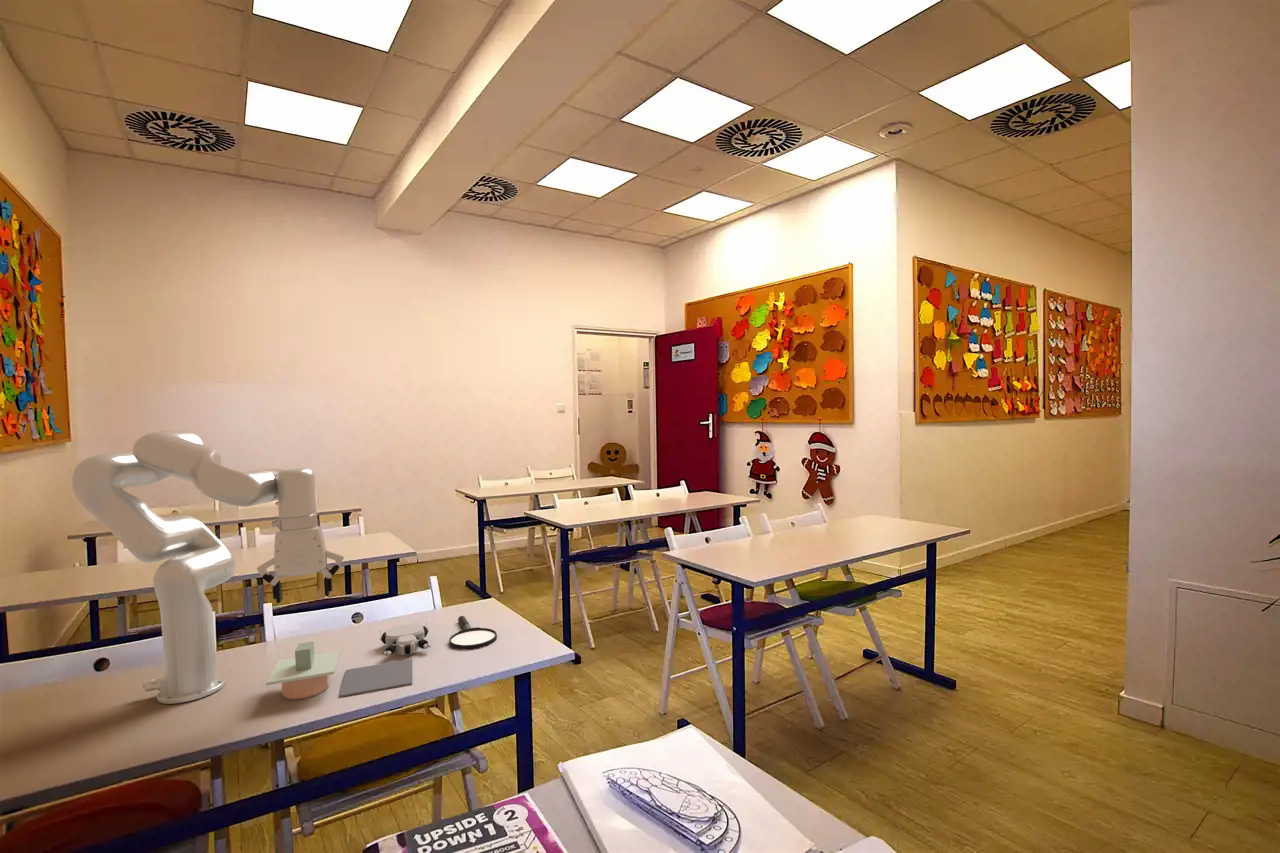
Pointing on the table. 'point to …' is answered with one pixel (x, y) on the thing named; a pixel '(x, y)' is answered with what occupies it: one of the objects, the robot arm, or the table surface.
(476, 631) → the magnifying glass
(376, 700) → the table surface
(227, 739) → the table surface
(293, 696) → the bowl
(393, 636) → the robot toy
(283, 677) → the cover
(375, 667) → the mat
